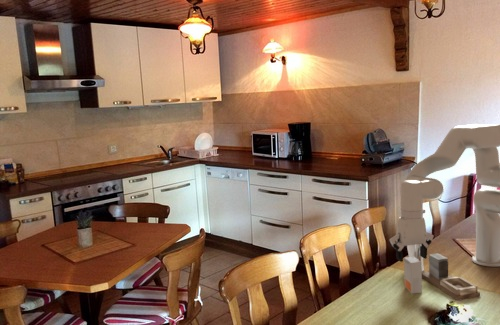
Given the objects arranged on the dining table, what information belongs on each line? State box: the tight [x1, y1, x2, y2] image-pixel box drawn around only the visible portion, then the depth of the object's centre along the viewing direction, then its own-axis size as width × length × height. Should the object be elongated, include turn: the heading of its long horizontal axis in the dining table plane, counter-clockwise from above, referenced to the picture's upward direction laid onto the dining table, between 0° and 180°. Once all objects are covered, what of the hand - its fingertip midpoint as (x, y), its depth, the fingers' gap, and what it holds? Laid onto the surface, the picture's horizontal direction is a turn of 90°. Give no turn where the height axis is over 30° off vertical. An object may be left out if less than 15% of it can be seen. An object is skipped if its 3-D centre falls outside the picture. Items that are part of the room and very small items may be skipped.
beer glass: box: [406, 244, 425, 272], centre depth 183 cm, size 7×7×15 cm
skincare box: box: [403, 256, 423, 295], centre depth 165 cm, size 6×4×12 cm
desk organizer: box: [422, 253, 481, 301], centre depth 166 cm, size 9×23×10 cm, turn 12°
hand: (411, 258), depth 163 cm, fingers open, 9 cm apart
